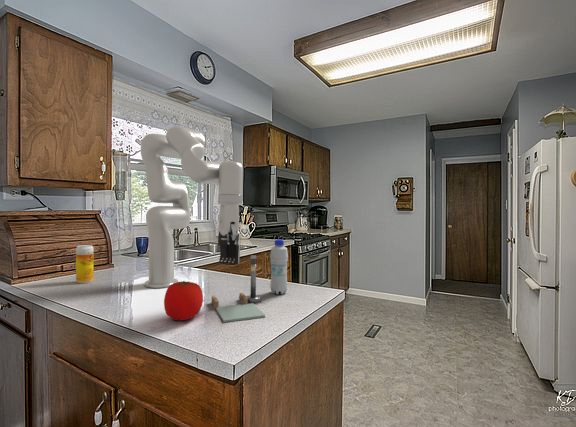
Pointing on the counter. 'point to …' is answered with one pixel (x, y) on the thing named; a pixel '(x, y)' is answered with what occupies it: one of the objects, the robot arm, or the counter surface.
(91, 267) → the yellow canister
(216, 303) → the holder
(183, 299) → the tomato
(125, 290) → the counter surface
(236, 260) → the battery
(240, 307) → the mat
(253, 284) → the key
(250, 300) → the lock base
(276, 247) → the bottle
